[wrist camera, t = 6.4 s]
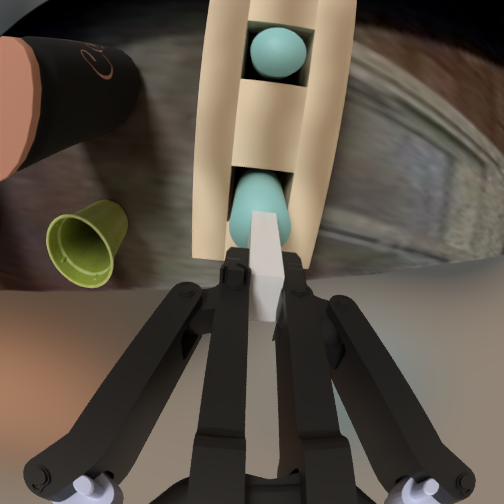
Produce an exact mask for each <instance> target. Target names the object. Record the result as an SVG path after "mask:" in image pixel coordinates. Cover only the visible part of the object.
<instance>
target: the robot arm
mask: <svg viewBox="0 0 504 504" xmlns="http://www.w3.org/2000/svg"><path fill="white" fill-rule="evenodd" d="M275 318H276V321H277V323H276V327H275V331H274V335H273V339H272V341H274V340H275V344H276V365H277V366H276V367H277V391H278V415H279V448H280V460H279V465H278V472H277V478H276V479H265V478H261V477H257V476H253V475H249V474H245V462H246V461H245V460H246V440H245V408H246V405H245V404H246V377H247V348H248V320H254V321H266V322H275ZM206 333H211V338H210V345H209V351H208V358H207V365H206V371H205V378H204V385H203V392H202V399H201V406H200V414H199V421H198V428H197V432H196V435H195V438H194V444H193V452H192V460H191V468H190V476H189V477H187V478H185V479H182V480H180V481H179V482H177V483H175V484H173V485H172V486H171V487H169V488H168V489H167V490H166V491H164V492H163V493H162V494H161V495H160V496H158V497H157V498H156V499H154V500H153V501H152V502H150V503H149V504H376V503H375V502H374V501H373V500H371V499H370V498H369V497H368V496H367V495H366V494H365V493H364V492H363V491H361V489H359V488H358V487H357V486H356V484H355V476H354V469H353V462H352V456H351V449H350V444H349V441H348V439H347V438H346V437H345V436H342V435H341V433H340V430H339V423H338V417H337V411H336V405H335V399H334V393H333V388H332V382H331V379H332V381H333V383H334V385H335V387H336V390H337V392H338V394H339V396H340V398H341V401H342V403H343V405H344V407H345V409H346V411H347V413H348V416H349V418H350V420H351V422H352V424H353V426H354V428H355V431H356V433H357V435H358V437H359V440H360V442H361V444H362V446H363V448H364V450H365V453H366V455H367V457H368V459H369V462H370V464H371V466H372V468H373V470H374V472H375V474H376V476H377V478H378V480H379V482H380V483H381V484H382V486H383V487H384V489H385V490H386V491H387V492H388V493H389V494H388V497H387V498H386V500H385V502H384V504H454V503H456V502H459V501H461V500H464V499H465V498H467V497H469V496H470V495H471V493H472V492H473V490H474V487H475V481H476V479H475V475H474V473H473V472H472V470H471V469H470V468H468V466H466V465H465V464H464V463H463V462H462V461H461V460H460V459H459V458H458V457H457V456H456V455H454V454H453V453H452V452H451V451H450V450H449V449H448V448H447V447H446V446H445V445H444V444H443V443H442V442H441V440H440V438H439V436H438V434H437V432H436V431H435V429H434V427H433V425H432V424H431V422H430V420H429V418H428V417H427V415H426V413H425V411H424V410H423V408H422V406H421V404H420V403H419V401H418V399H417V398H416V396H415V394H414V393H413V391H412V389H411V388H410V386H409V384H408V383H407V381H406V380H405V378H404V376H403V375H402V373H401V371H400V370H399V368H398V367H397V365H396V363H395V362H394V360H393V359H392V357H391V356H390V354H389V352H388V351H387V349H386V348H385V346H384V345H383V343H382V342H381V340H380V339H379V337H378V336H377V334H376V332H375V331H374V329H373V328H372V327H371V325H370V323H369V322H368V320H367V319H366V318H365V316H364V315H363V313H362V312H361V311H360V309H359V307H358V306H357V304H356V303H355V302H354V301H353V300H352V299H351V298H349V297H347V296H344V295H335V296H333V297H332V298H331V299H330V300H329V301H328V300H325V299H321V298H319V297H316V296H314V295H313V292H312V290H311V289H310V287H308V286H307V284H306V279H305V275H304V270H303V266H302V261H301V258H300V257H299V256H298V255H297V253H294V252H285V251H281V245H280V238H279V230H278V223H277V216H276V213H269V212H260V211H252V215H251V223H250V232H249V240H248V248H239V247H230V248H229V249H228V250H227V251H226V256H225V261H224V265H222V266H221V268H220V282H219V284H218V285H217V286H215V287H213V288H209V289H201V287H200V286H199V285H197V284H195V283H193V282H181V283H179V284H176V285H175V286H174V287H173V288H172V289H171V291H170V292H169V293H168V295H167V296H166V297H165V298H164V300H163V301H162V302H161V304H160V305H159V306H158V308H157V309H156V310H155V311H154V313H153V314H152V316H151V317H150V318H149V319H148V321H147V322H146V323H145V325H144V326H143V327H142V329H141V330H140V331H139V333H138V335H137V336H136V337H135V338H134V340H133V341H132V342H131V344H130V345H129V347H128V348H127V349H126V351H125V352H124V354H123V355H122V356H121V358H120V359H119V360H118V362H117V363H116V364H115V366H114V367H113V369H112V370H111V371H110V373H109V374H108V376H107V377H106V379H105V380H104V381H103V383H102V384H101V386H100V387H99V389H98V390H97V392H96V393H95V394H94V396H93V397H92V399H91V400H90V402H89V403H88V405H87V406H86V408H85V409H84V411H83V412H82V414H81V415H80V417H79V418H78V420H77V421H76V423H75V424H74V426H73V427H72V429H71V430H70V432H69V433H68V434H66V435H65V436H64V437H62V438H61V439H59V440H58V441H57V442H55V443H54V444H52V445H51V446H49V447H48V448H47V449H45V450H44V451H42V452H41V453H39V454H38V455H37V456H35V457H34V458H32V459H31V460H29V461H28V463H27V464H26V465H25V467H24V471H23V474H24V480H25V483H26V485H27V487H28V488H29V489H30V490H31V491H32V492H33V493H34V494H36V495H38V496H39V497H42V498H44V499H47V500H49V501H51V502H53V504H123V499H124V498H123V493H122V490H121V489H120V487H119V486H118V485H119V484H120V483H121V482H122V481H123V479H124V478H125V477H126V476H127V475H128V473H129V472H130V470H131V468H132V467H133V465H134V463H135V461H136V460H137V458H138V456H139V454H140V452H141V450H142V448H143V446H144V444H145V442H146V441H147V439H148V437H149V435H150V433H151V431H152V429H153V427H154V426H155V423H156V421H157V420H158V418H159V416H160V414H161V412H162V410H163V408H164V407H165V405H166V403H167V401H168V399H169V397H170V395H171V393H172V392H173V390H174V388H175V386H176V384H177V382H178V380H179V378H180V377H181V375H182V373H183V371H184V369H185V367H186V365H187V364H188V362H189V360H190V358H191V356H192V354H193V352H194V350H195V349H196V347H197V345H198V343H199V341H200V339H201V337H202V334H206Z"/></svg>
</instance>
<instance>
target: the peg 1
mask: <svg viewBox="0 0 504 504" xmlns="http://www.w3.org/2000/svg"><path fill="white" fill-rule="evenodd" d="M251 59H252V66H253V69H254V71H255V73H256V74H257V75H258V76H259V77H260V78H262V79H264V80H267V81H279V80H282V79H284V78H286V77H287V76H289V75H291V74H292V73H294V72H296V71H297V70H299V69H300V68H301V66H302V65H303V64H304V62H305V59H306V47H305V44H304V42H303V40H302V39H301V38H300V37H299V36H298V35H297V34H296V33H294V32H293V31H291V30H288V29H285V28H270V29H266V30H264V31H262V32H261V33H259V34H258V35H257V36H256V37H255V38H254V40H253V42H252V44H251Z"/></svg>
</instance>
